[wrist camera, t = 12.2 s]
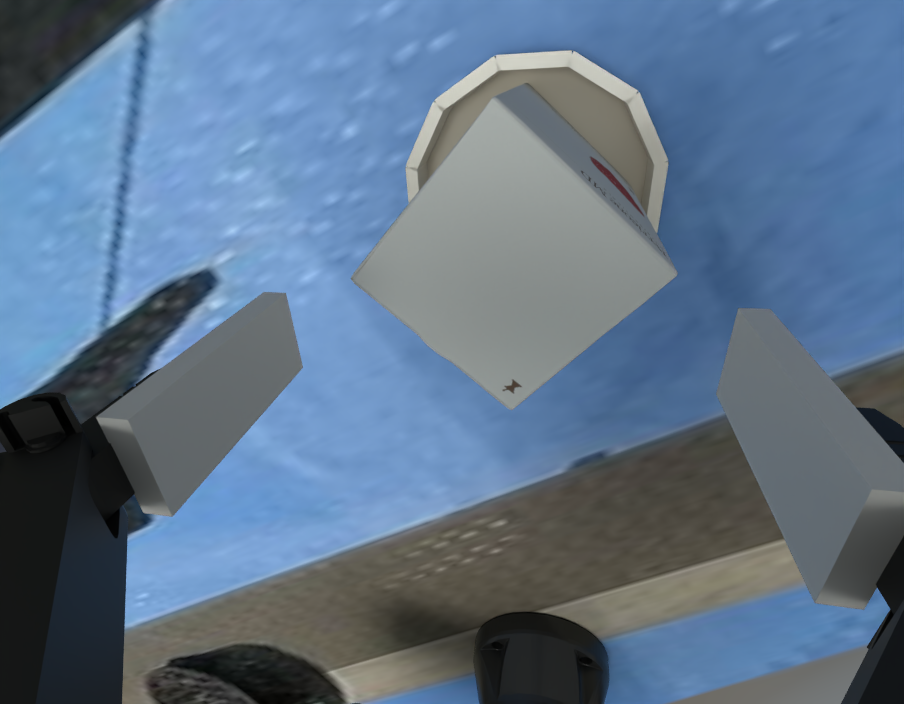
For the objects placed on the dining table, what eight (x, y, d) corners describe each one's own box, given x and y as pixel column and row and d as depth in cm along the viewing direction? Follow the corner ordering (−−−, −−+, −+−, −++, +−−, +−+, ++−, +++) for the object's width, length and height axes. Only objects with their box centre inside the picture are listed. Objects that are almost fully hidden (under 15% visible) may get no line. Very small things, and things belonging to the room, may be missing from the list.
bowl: (636, 295, 34) (643, 317, 31) (430, 288, 37) (418, 308, 34) (674, 45, 26) (687, 43, 24) (412, 61, 29) (395, 61, 26)
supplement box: (637, 185, 29) (691, 280, 17) (531, 286, 34) (511, 420, 21) (526, 74, 28) (493, 86, 15) (430, 196, 32) (343, 283, 20)
